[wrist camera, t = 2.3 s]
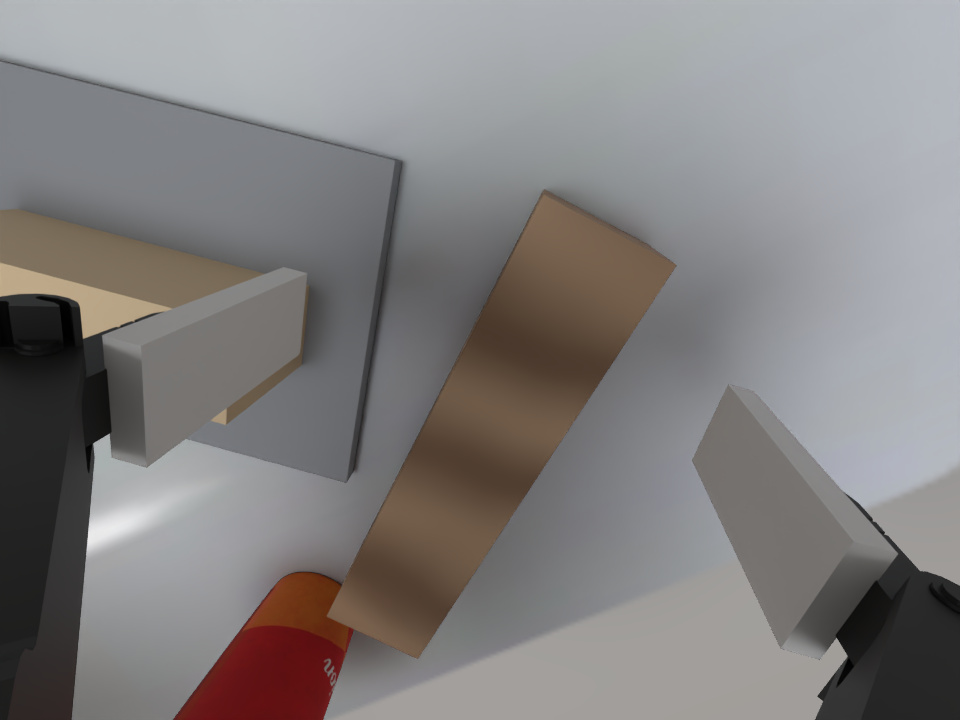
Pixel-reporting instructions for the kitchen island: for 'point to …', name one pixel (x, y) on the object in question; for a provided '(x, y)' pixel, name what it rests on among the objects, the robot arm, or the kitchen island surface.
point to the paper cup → (278, 658)
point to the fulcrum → (201, 240)
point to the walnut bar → (499, 417)
